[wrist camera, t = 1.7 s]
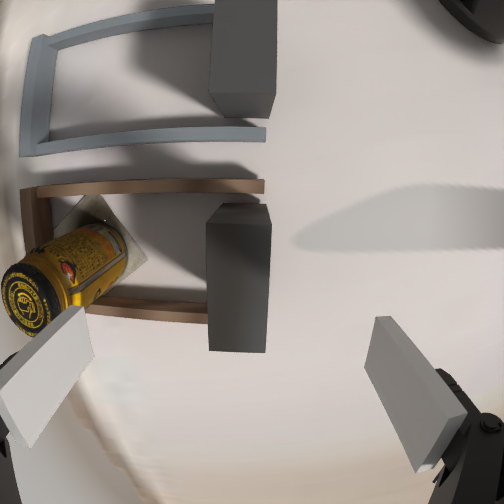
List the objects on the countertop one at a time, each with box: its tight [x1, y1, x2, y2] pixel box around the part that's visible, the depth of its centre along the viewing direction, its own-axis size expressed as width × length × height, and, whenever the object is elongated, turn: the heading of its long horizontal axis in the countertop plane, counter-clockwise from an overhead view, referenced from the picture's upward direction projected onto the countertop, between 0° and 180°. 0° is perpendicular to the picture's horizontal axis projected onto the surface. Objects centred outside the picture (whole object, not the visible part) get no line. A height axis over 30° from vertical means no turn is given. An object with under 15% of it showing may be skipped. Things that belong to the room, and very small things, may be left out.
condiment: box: [1, 194, 148, 337], centre depth 21 cm, size 7×8×12 cm
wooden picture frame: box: [20, 178, 272, 353], centre depth 22 cm, size 22×12×9 cm, turn 88°
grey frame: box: [19, 0, 277, 157], centre depth 18 cm, size 22×12×9 cm, turn 88°
